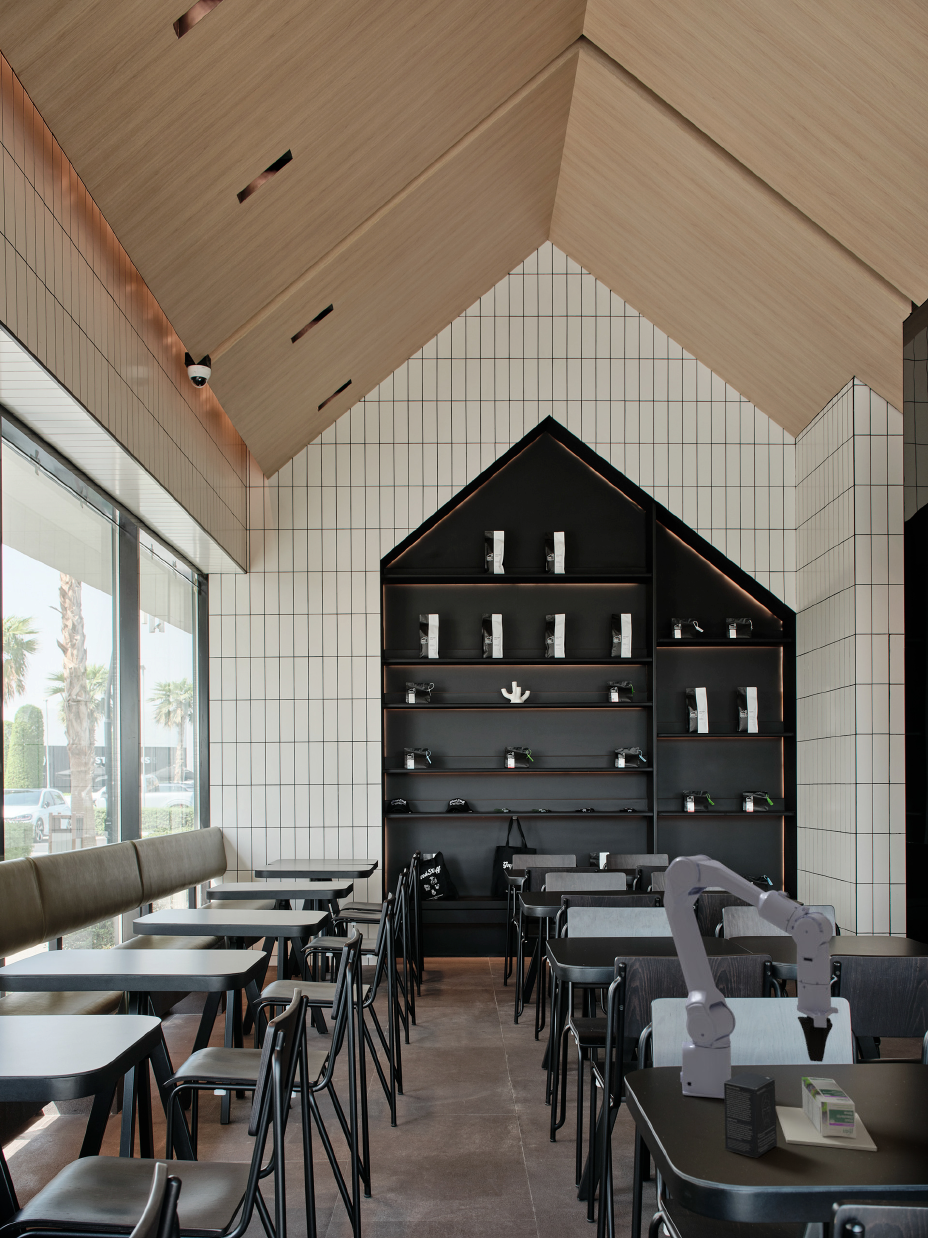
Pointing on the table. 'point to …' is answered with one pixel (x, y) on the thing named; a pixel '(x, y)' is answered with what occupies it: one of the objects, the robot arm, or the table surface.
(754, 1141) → the box
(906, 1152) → the table surface
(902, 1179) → the table surface
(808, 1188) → the table surface
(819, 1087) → the syrup box
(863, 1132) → the mat
